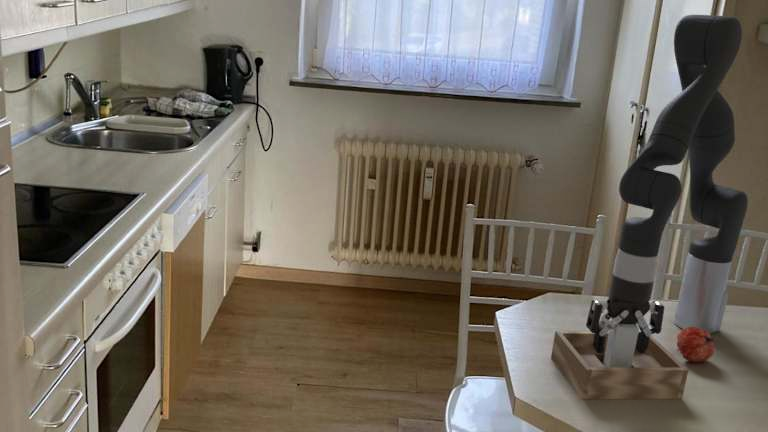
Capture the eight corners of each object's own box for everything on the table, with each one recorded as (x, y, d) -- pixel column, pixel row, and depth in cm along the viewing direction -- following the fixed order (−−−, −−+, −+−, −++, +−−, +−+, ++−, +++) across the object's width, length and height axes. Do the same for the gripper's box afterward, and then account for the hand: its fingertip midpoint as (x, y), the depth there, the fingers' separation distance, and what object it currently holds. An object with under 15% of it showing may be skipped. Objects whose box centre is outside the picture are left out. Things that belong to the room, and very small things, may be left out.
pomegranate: (666, 365, 164) (699, 357, 155) (661, 331, 166) (693, 321, 158) (694, 367, 166) (728, 358, 158) (689, 333, 169) (722, 323, 160)
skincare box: (628, 386, 149) (639, 329, 145) (605, 383, 149) (616, 326, 146) (623, 371, 155) (634, 316, 151) (601, 368, 155) (611, 313, 152)
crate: (642, 358, 161) (647, 332, 159) (682, 398, 146) (688, 370, 144) (550, 357, 158) (555, 331, 156) (581, 399, 143) (587, 369, 141)
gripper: (659, 267, 150) (644, 343, 155) (590, 265, 148) (576, 342, 153) (679, 282, 143) (662, 361, 148) (606, 280, 141) (592, 360, 145)
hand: (618, 351), depth 150 cm, fingers open, 8 cm apart
